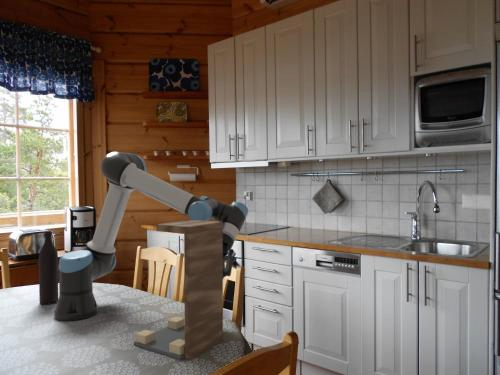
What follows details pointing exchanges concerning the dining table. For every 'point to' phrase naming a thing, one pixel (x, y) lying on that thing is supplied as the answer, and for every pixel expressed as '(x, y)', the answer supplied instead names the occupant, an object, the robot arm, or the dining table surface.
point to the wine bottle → (48, 271)
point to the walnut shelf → (201, 282)
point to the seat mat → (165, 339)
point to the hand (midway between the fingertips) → (199, 289)
